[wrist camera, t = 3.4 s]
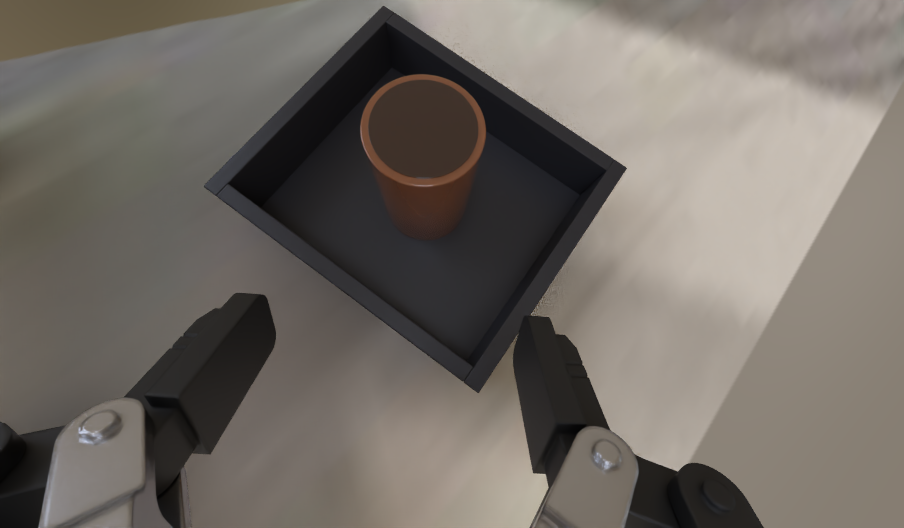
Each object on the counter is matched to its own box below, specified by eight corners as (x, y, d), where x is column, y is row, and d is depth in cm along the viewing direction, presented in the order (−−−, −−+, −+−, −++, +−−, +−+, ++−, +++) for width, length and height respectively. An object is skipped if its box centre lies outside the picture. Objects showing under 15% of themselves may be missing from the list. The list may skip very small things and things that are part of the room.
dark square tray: (247, 215, 25) (202, 185, 20) (391, 62, 28) (383, 4, 23) (468, 380, 23) (478, 393, 18) (591, 198, 27) (627, 167, 22)
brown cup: (368, 208, 24) (332, 136, 15) (418, 149, 26) (411, 51, 17) (434, 256, 24) (437, 211, 15) (482, 194, 25) (510, 117, 16)
